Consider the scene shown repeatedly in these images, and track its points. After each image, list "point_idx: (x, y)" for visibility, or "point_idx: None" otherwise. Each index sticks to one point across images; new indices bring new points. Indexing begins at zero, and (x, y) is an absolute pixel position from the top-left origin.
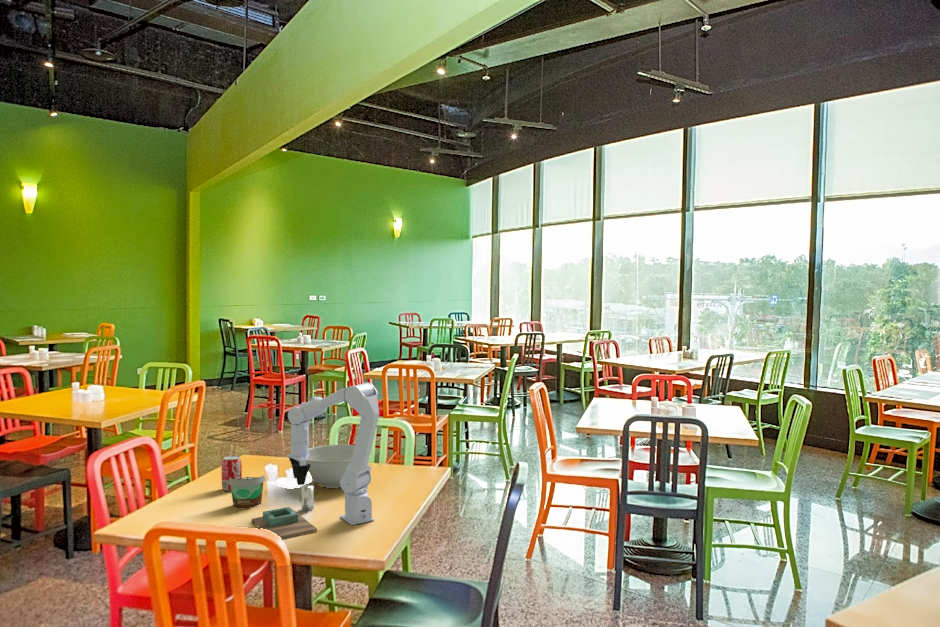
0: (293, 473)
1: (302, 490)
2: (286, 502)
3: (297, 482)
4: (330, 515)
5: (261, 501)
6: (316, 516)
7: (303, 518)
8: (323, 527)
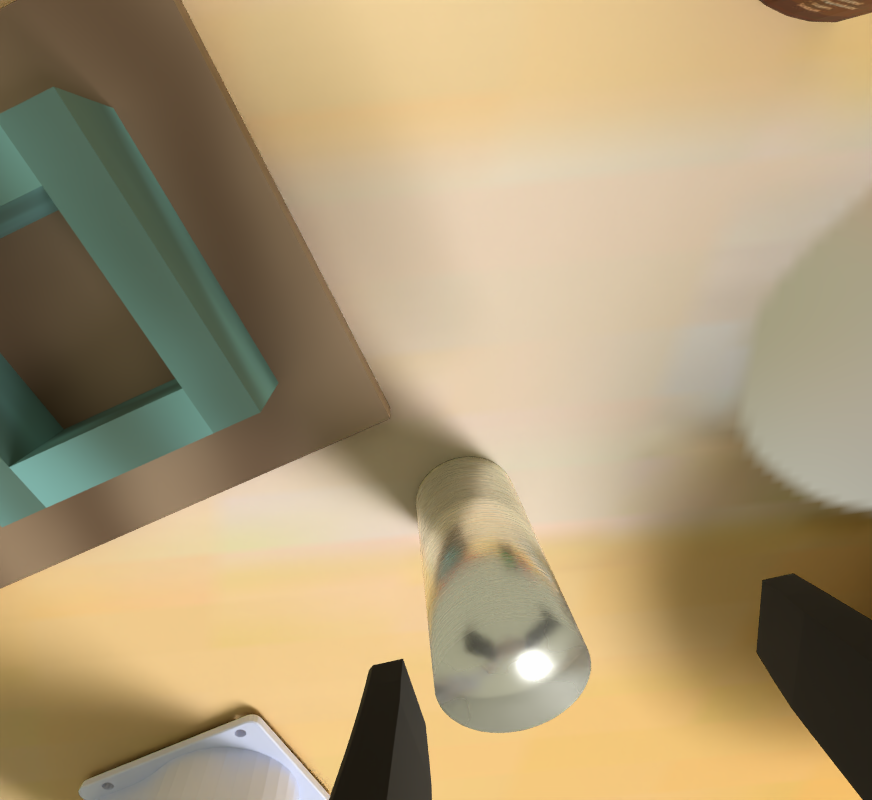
0: (843, 642)
1: (462, 606)
2: (727, 307)
3: (361, 703)
4: (304, 653)
5: (832, 16)
6: (291, 574)
7: (154, 514)
8: (34, 639)
